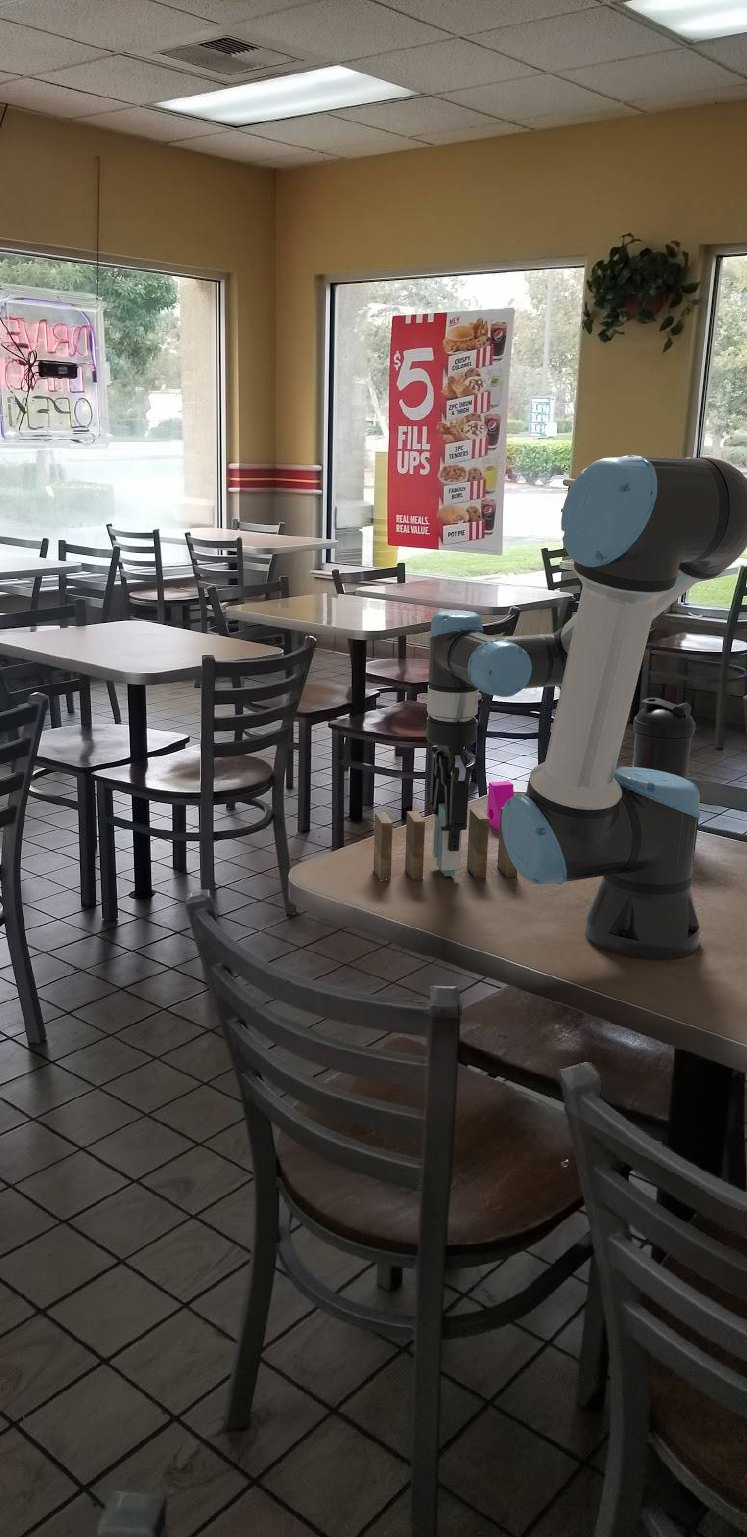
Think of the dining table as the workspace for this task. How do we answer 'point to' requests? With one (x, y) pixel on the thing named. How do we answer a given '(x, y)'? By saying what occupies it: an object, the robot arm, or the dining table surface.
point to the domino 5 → (504, 855)
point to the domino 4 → (477, 843)
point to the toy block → (498, 800)
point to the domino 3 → (440, 839)
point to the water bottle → (663, 736)
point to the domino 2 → (414, 845)
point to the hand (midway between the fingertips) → (445, 862)
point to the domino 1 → (383, 846)
